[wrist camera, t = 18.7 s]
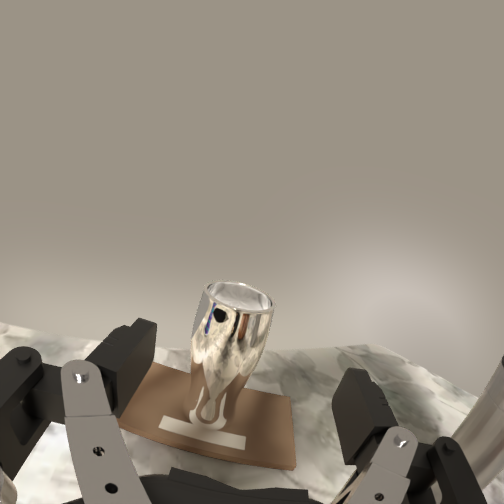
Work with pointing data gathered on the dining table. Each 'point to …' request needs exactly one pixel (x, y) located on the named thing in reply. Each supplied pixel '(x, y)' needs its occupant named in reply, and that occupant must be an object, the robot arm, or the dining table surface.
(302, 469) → the dining table surface
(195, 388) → the beer glass
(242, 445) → the board
